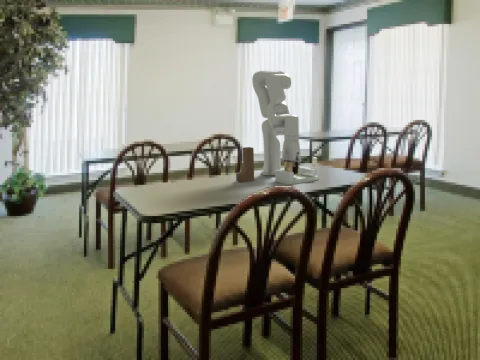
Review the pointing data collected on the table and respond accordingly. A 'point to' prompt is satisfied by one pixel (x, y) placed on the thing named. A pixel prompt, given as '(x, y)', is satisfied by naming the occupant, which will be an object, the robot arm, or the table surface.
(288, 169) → the maple block
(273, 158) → the robot arm
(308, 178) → the vise base
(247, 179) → the wooden block
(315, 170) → the slide jaw
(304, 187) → the table surface
